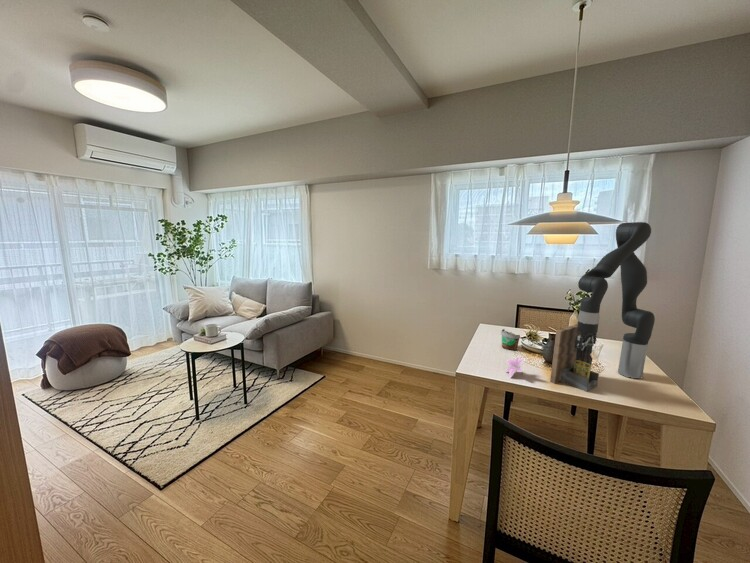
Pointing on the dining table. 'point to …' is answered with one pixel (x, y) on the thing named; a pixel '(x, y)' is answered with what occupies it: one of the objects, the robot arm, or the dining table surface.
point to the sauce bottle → (584, 362)
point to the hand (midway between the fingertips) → (583, 355)
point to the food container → (509, 340)
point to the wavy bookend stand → (569, 361)
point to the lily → (514, 365)
